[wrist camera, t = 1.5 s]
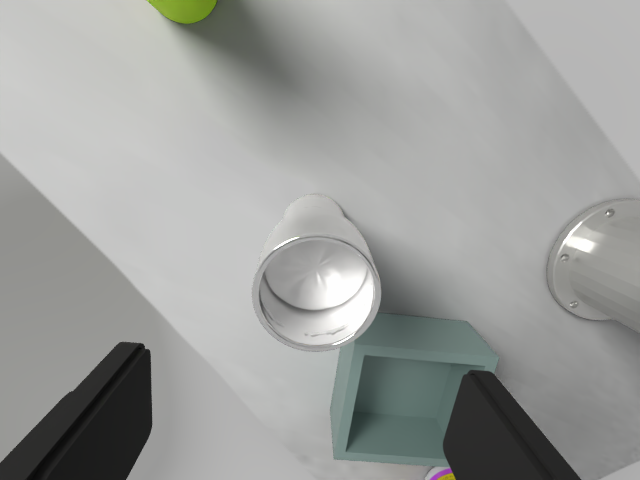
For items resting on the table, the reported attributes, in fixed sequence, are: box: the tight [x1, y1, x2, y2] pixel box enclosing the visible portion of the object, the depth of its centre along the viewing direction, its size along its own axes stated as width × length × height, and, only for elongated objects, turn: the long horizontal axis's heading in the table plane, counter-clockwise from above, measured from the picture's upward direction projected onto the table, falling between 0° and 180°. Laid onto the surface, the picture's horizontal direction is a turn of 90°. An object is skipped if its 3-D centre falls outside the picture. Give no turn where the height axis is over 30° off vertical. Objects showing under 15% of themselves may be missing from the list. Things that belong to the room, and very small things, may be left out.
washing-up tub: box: [330, 313, 499, 467], centre depth 32 cm, size 13×13×6 cm
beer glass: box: [252, 194, 381, 352], centre depth 23 cm, size 7×7×15 cm
